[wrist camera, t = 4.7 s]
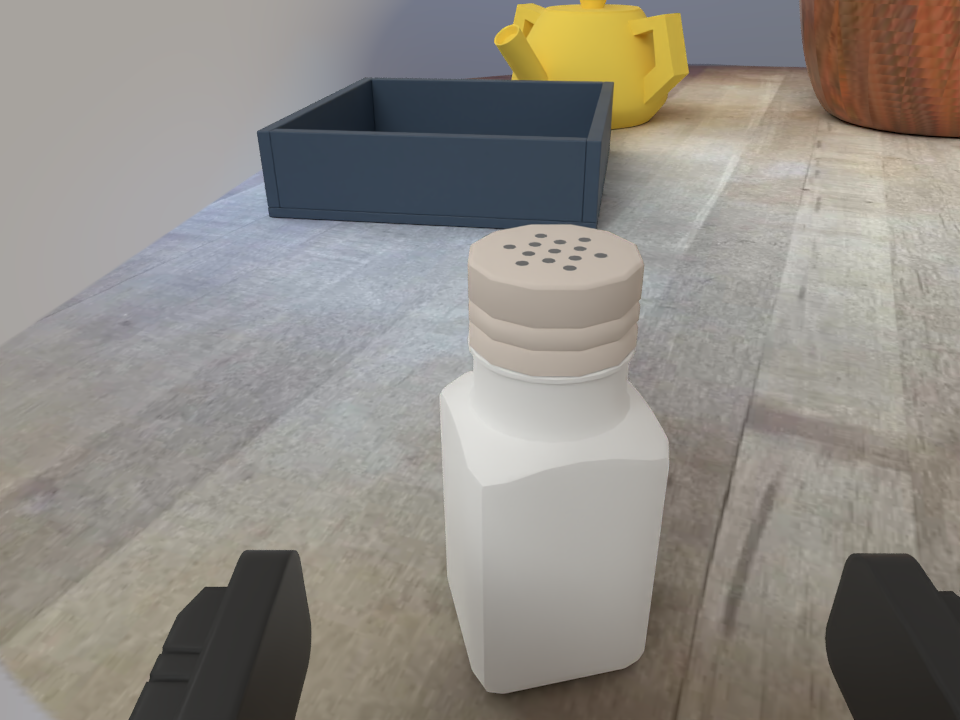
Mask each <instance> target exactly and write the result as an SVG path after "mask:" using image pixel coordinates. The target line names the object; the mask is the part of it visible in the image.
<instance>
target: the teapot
mask: <svg viewBox="0 0 960 720" xmlns="http://www.w3.org/2000/svg"><path fill="white" fill-rule="evenodd" d="M580 2H581V4H580V5H560V6H551V7H547V8H543V7H541V6H538V5H535V4H533V3H532V4H519V5H517V9H516V14H515V18H514V23H513V25H509V26H507V27H505V28H503V29H502V30H501V31H500V32H499V33H498V34H497V35H496V37H495V39H494V43H495V44H496V46H497V47H498V49H499V50H500V52H501V54H502V55H503V56H504V58H505V60H506V61H507V63H508V64H509V66H510V67H511V69H512V70H513V74H512V80H541V81H601V82H614V92H613V106H612V121H611V129H618V128H626V127H632V126H637V125H640V124H643V123H646V122H647V121H649V120H650V119H651V118H652V117H653V116H654V115H655V114H656V113H657V111H658V110H659V109H660V108H661V107H662V106H663V104H664V103H665V101H666V99H667V96H668V92H669V91H670V90H671V89H672V88H673V87H675V86H676V85H677V84H678V83H679V82H680V81H681V80H682V79H683V78H684V77H685V76H686V75H687V74H688V73H689V71H688V64H687V58H686V50H685V43H684V36H683V29H682V22H681V16H680V13H674V14H664V15H659V16H653V17H648V18H647V17H646V15H645V13H644V12H643V10H642V9H640V7H637V6H629V5H609V4H608V5H606V4H605V2H606V0H580Z"/></svg>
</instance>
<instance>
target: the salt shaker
mask: <svg viewBox="0 0 960 720" xmlns="http://www.w3.org/2000/svg"><path fill="white" fill-rule="evenodd" d="M643 272H644V262H643V260H642V257H641V255H640V253H639V250H638V248H637V245H636V244H634V243H632V242H630V241H628V240H625V239H623V238H621V237H619V236H617V235H615V234H613V233H611V232H609V231H604V230H598V229H593V228H587V227H582V226H576V225H526V226H520V227H515V228H510V229H505V230H500V231H495V232H493V233H491V234H489V235H487V236H485V237H484V238H482V239H480V240H478V241H477V242H475V243H473V244H471V246H470V250H469V258H468V298H469V320H470V322H469V335H468V345H469V351H470V352H471V354H472V355H473V370H472V371H469V372H466V373H465V374H463V375H462V376H460V377H459V378H457V379H456V380H454V381H453V382H451V383H450V384H448V385H447V386H445V388H444V389H443V390H442V391H441V393H440V397H439V400H440V422H441V445H442V467H443V490H444V512H445V535H446V557H447V578H448V582H449V586H450V590H451V593H452V597H453V601H454V605H455V609H456V612H457V616H458V620H459V624H460V627H461V631H462V635H463V639H464V643H465V646H466V650H467V654H468V658H469V661H470V665H471V669H472V671H473V672H474V674H475V675H476V677H477V678H478V679H479V681H480V682H481V684H482V685H483V687H484V688H485V689H486V691H487V692H493V693H501V694H505V693H510V692H515V691H520V690H524V689H529V688H534V687H539V686H543V685H548V684H553V683H558V682H562V681H567V680H572V679H577V678H581V677H586V676H591V675H596V674H600V673H605V672H610V671H615V670H619V669H624V668H626V667H628V666H629V665H631V664H633V663H634V662H636V661H638V660H639V658H640V657H641V655H642V654H643V653H644V650H645V643H646V635H647V628H648V620H649V613H650V605H651V598H652V590H653V583H654V576H655V568H656V561H657V553H658V546H659V538H660V531H661V523H662V516H663V508H664V501H665V494H666V486H667V479H668V471H669V441H668V438H667V436H666V434H665V432H664V431H663V429H662V427H661V425H660V423H659V422H658V420H657V418H656V416H655V414H654V413H653V411H652V410H651V408H650V407H649V405H648V404H647V403H646V401H645V400H644V398H643V397H642V396H641V394H640V393H639V392H638V391H637V389H636V388H635V387H634V386H633V385H632V384H631V383H630V382H629V381H628V370H629V362H630V361H631V359H632V358H633V356H634V354H635V352H636V343H637V333H638V325H637V321H638V320H639V312H640V303H639V300H640V299H641V292H642V282H643Z"/></svg>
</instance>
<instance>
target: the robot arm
mask: <svg viewBox="0 0 960 720" xmlns="http://www.w3.org/2000/svg"><path fill="white" fill-rule="evenodd" d="M825 640H826V651H827V657H828V661H829V665H830V668H831V670H832V673H833V675H834V677H835V679H836V682H837V684H838V686H839V688H840V690H841V692H842V695H843V697H844V699H845V701H846V703H847V705H848V708H849V710H850V712H851V714H852V716H853V718H854V720H960V597H959V596H957V595H956V594H955V593H954V592H952V591H937V589H936V588H935V586H934V585H933V583H932V582H931V580H930V579H929V578H928V576H927V575H926V573H925V572H924V570H923V569H922V567H921V566H920V564H919V563H918V562H917V560H916V559H915V558H913V557H912V556H911V555H909V554H870V553H856V554H852V555H850V556H849V557H848V559H847V560H846V563H845V566H844V569H843V573H842V576H841V579H840V583H839V586H838V589H837V593H836V596H835V599H834V603H833V606H832V609H831V613H830V616H829V619H828V623H827V627H826V636H825ZM162 648H163V651H162V654H159V656H158V658H157V660H156V662H155V665H154V667H153V669H152V671H151V673H150V680H149V682H146V684H145V686H144V688H143V690H142V692H141V695H140V697H139V699H138V701H137V703H136V705H135V707H134V710H133V712H132V714H131V716H130V718H129V720H295V716H296V712H297V708H298V704H299V700H300V696H301V692H302V688H303V684H304V680H305V676H306V672H307V668H308V664H309V658H310V650H311V621H310V615H309V609H308V603H307V597H306V591H305V585H304V579H303V573H302V567H301V561H300V557H299V554H298V552H297V551H296V550H246V551H244V552H243V553H242V554H241V556H240V558H239V560H238V562H237V565H236V567H235V570H234V572H233V575H232V577H231V579H230V582H229V584H228V587H205V588H204V589H203V590H202V591H201V592H200V593H199V594H198V595H197V596H196V597H195V598H194V599H193V600H192V601H191V602H190V603H189V604H188V605H187V606H186V607H185V608H184V609H183V610H182V611H181V612H180V613H179V614H178V615H177V617H176V620H175V622H174V624H173V626H172V628H171V630H170V632H169V635H168V637H167V639H166V641H165V643H164V645H163V647H162Z"/></svg>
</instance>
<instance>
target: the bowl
mask: <svg viewBox="0 0 960 720" xmlns="http://www.w3.org/2000/svg"><path fill="white" fill-rule="evenodd" d="M800 21H801V34H802V43H803V50H804V56H805V61H806V65H807V70H808V74H809V78H810V81H811V84H812V86H813V89H814V91H815V94H816V96H817V98H818V100H819V102H820V103H821V105H822V106H823V107H824V109H825V110H826V111H827V112H829V113H830V114H832V115H833V116H835V117H837V118H839V119H841V120H843V121H846V122H849V123H853V124H856V125H859V126H864V127H869V128H873V129H878V130H885V131H891V132H898V133H906V134H916V135H927V136H946V137H960V0H800Z"/></svg>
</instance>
